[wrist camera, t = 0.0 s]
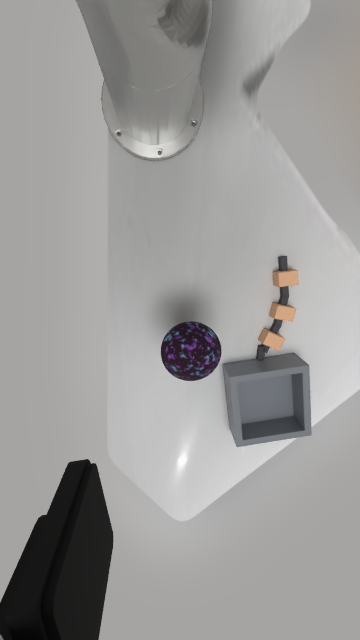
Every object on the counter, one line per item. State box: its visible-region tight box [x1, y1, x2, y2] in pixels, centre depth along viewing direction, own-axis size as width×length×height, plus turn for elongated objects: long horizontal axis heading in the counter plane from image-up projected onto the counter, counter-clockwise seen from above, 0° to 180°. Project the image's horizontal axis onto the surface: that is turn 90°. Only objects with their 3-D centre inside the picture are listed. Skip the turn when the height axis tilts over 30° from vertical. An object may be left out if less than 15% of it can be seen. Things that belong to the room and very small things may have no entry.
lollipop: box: [161, 322, 221, 381], centre depth 39 cm, size 7×7×15 cm
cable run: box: [256, 256, 299, 361], centre depth 46 cm, size 16×4×2 cm, turn 172°
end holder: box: [223, 353, 311, 447], centre depth 47 cm, size 12×12×5 cm
